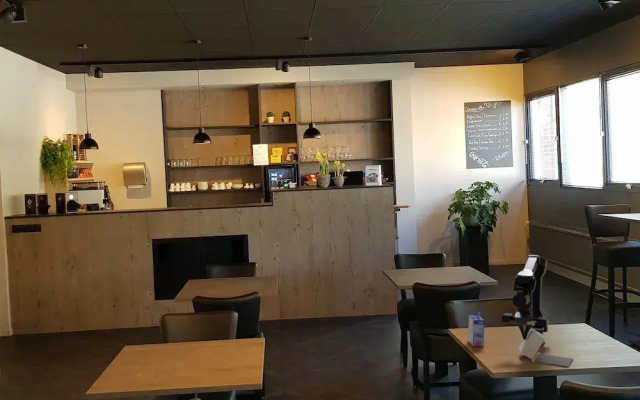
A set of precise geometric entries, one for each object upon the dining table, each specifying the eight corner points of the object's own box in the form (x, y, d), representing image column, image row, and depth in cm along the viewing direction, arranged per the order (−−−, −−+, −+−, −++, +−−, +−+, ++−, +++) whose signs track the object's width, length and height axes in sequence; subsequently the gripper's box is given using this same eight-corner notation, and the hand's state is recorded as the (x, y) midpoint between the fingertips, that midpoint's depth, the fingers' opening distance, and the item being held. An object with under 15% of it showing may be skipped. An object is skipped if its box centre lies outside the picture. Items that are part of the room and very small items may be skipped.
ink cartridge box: (484, 346, 271) (485, 315, 271) (472, 346, 271) (472, 315, 271) (479, 340, 281) (479, 310, 281) (467, 340, 281) (468, 310, 281)
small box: (532, 360, 251) (545, 339, 249) (519, 352, 252) (532, 332, 250) (530, 354, 259) (543, 334, 257) (518, 347, 260) (531, 327, 258)
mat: (537, 354, 258) (537, 352, 258) (573, 359, 251) (573, 357, 251) (531, 362, 248) (531, 359, 248) (568, 367, 240) (568, 364, 240)
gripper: (497, 304, 252) (497, 340, 253) (543, 309, 243) (543, 347, 243) (504, 299, 262) (504, 335, 262) (549, 304, 252) (549, 340, 253)
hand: (524, 339), depth 255 cm, fingers closed
